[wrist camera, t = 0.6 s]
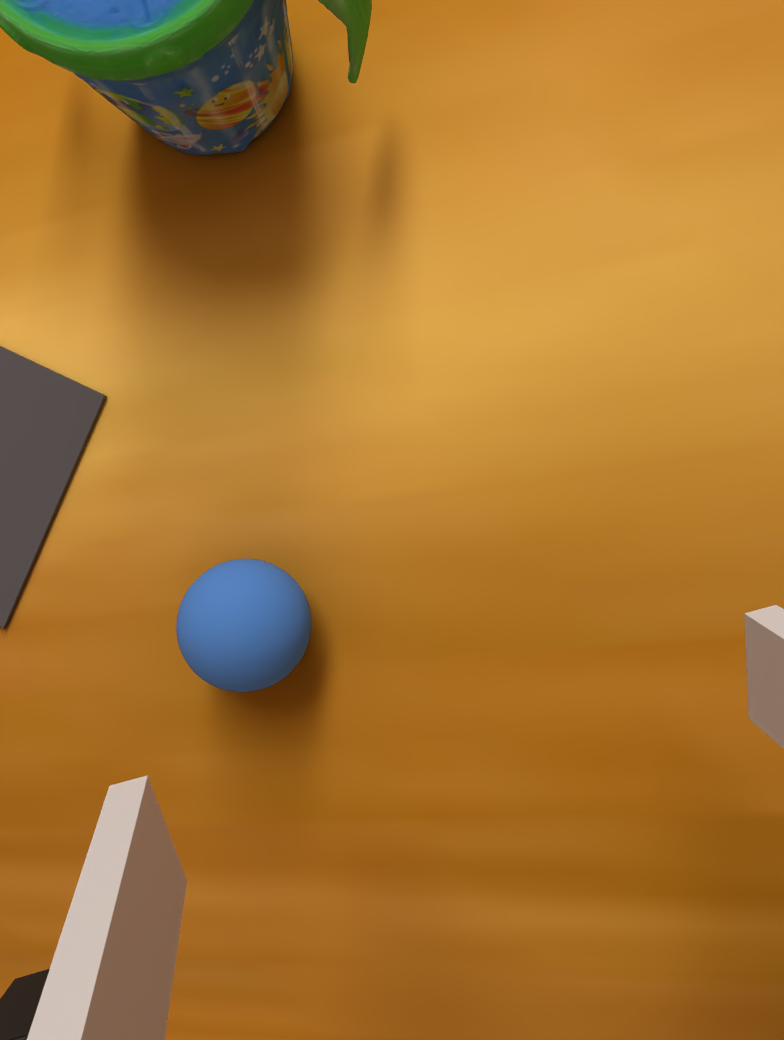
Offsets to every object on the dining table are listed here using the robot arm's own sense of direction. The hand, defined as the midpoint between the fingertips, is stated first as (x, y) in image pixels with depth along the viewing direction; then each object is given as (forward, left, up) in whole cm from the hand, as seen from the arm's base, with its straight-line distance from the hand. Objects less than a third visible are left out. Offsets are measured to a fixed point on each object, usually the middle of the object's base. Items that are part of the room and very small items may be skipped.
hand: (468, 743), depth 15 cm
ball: (+6, +7, -14) cm, 16 cm away
